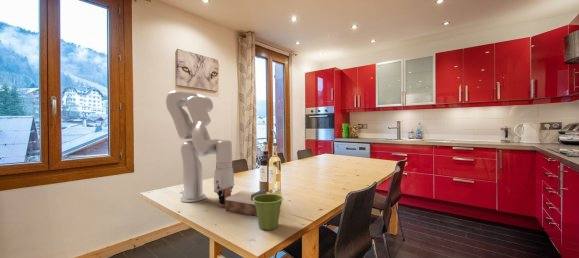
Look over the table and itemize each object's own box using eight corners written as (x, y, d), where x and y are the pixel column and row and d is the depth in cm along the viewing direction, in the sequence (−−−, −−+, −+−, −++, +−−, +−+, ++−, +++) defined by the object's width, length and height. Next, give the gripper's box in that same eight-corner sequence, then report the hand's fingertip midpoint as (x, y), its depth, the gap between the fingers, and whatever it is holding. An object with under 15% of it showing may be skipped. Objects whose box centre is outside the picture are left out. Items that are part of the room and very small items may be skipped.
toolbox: (225, 211, 110) (225, 200, 110) (242, 202, 122) (242, 193, 122) (259, 217, 102) (258, 206, 102) (273, 207, 114) (273, 197, 114)
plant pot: (289, 225, 94) (289, 197, 94) (267, 236, 85) (267, 205, 85) (269, 218, 102) (268, 191, 101) (246, 227, 93) (246, 198, 93)
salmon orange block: (219, 206, 117) (218, 185, 117) (224, 203, 121) (224, 183, 121) (225, 207, 116) (225, 186, 115) (230, 204, 119) (230, 184, 119)
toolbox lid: (225, 200, 110) (225, 192, 110) (242, 192, 122) (242, 185, 121) (258, 205, 102) (258, 197, 102) (273, 196, 114) (273, 189, 114)
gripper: (229, 162, 127) (229, 196, 127) (206, 167, 112) (206, 206, 112) (240, 163, 124) (241, 198, 124) (218, 168, 109) (219, 208, 109)
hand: (225, 201), depth 118 cm, fingers closed on salmon orange block, 4 cm apart
